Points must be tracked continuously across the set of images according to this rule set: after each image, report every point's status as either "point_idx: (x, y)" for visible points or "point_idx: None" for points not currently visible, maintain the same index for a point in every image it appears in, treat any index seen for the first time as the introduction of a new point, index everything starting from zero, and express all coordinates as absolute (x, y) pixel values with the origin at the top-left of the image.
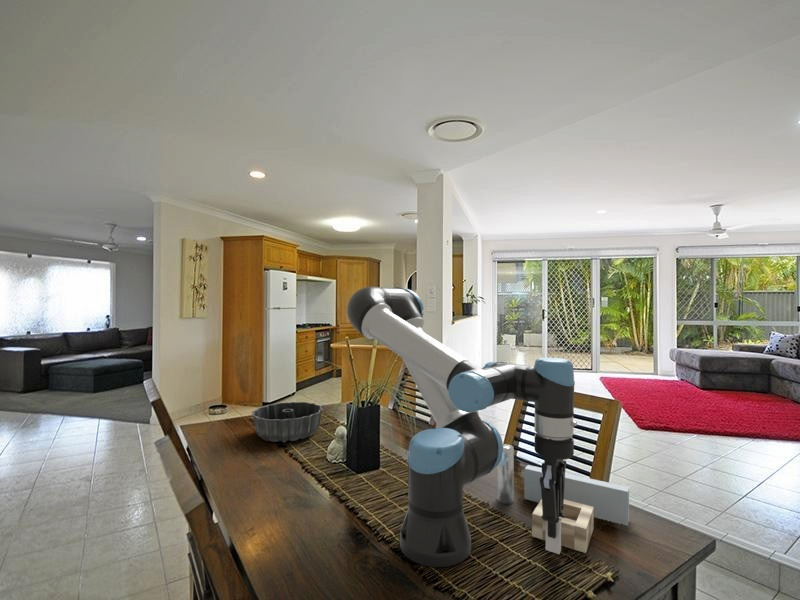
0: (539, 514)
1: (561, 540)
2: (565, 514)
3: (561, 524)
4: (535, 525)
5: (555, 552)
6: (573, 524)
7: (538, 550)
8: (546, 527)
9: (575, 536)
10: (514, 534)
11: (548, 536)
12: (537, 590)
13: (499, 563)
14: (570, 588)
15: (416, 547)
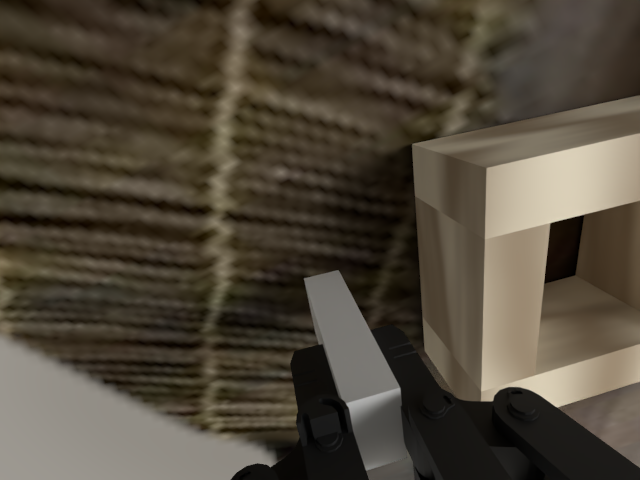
0: (502, 211)
1: (431, 284)
2: (636, 235)
3: (474, 329)
4: (444, 175)
5: (312, 318)
6: (491, 382)
7: (324, 219)
8: (328, 356)
9: (452, 356)
10: (378, 50)
11: (294, 356)
12: (56, 346)
13: (53, 131)
14: (184, 402)
15: None
